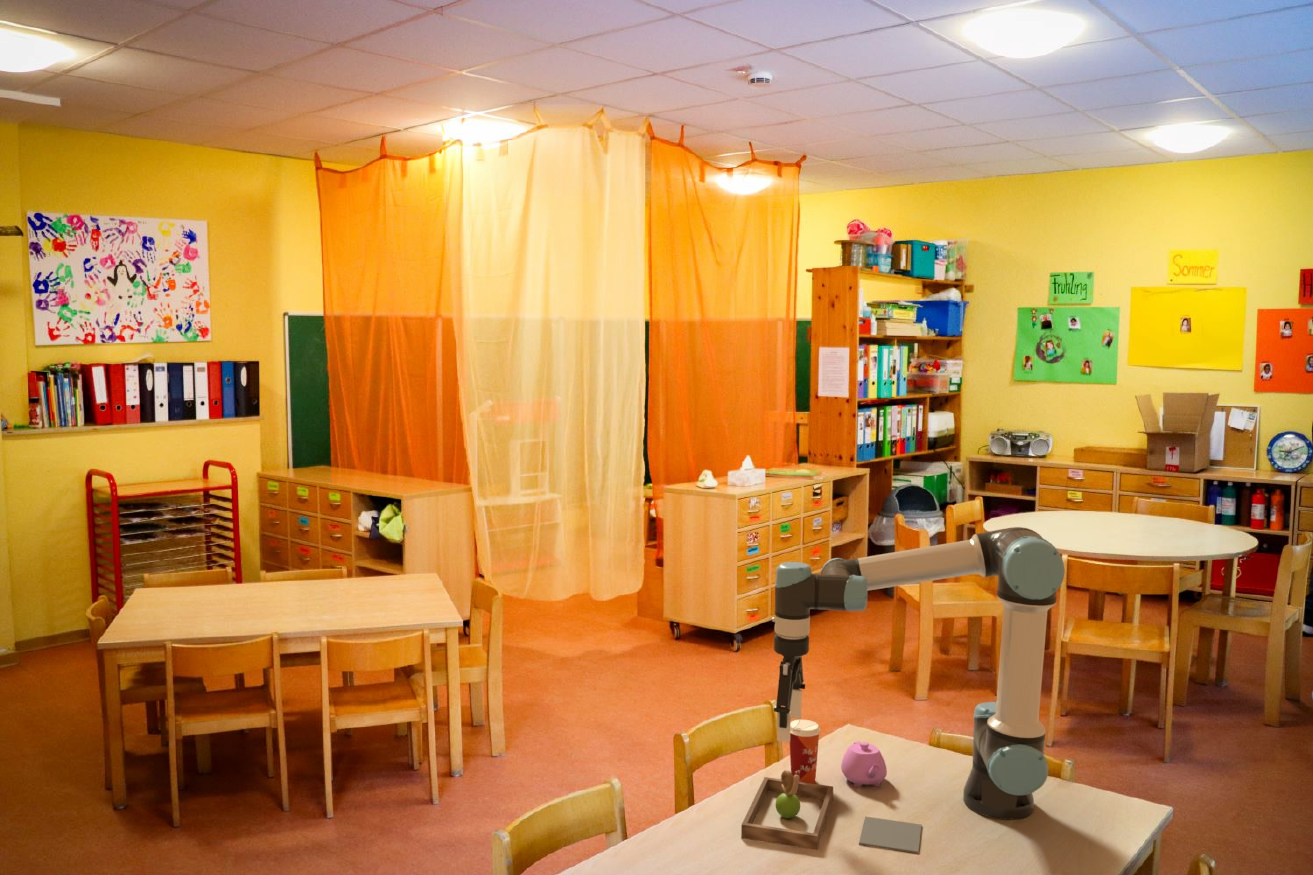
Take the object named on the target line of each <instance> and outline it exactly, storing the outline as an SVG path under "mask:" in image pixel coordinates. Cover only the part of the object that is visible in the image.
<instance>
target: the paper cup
mask: <svg viewBox="0 0 1313 875" xmlns="http://www.w3.org/2000/svg"><path fill="white" fill-rule="evenodd" d="M820 733H821V729H820V726H819V724H818V723H817V722H815V721H814V720H813V721H812V720H809V719H795V720H791V727H790V742H789V755H790V756H789V759H790V761H789V762H790V772H791V773H792V775H793V777H794V775H796V773H795V771H798V770H800V773H797V775H798V776H799V777H800V779H799V782H805V783H812V784H816V775H817V765H818V764H817V763H818V751H819V738H820Z"/></svg>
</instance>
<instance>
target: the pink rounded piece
mask: <svg viewBox="0 0 1313 875" xmlns="http://www.w3.org/2000/svg"><path fill="white" fill-rule="evenodd" d="M840 767H841V768H840V769H841V772H842V774H843V775H844V777H845V778H846V779H847V781H849V782H851V783H853V787H855V788H861V787H862V786H863V785H872V786H874V787H880V786H881V784H880V783H881V782H883V781H884V780H885V778H886V777H887V774H888V771H887V765H886V760H885V759H884V756H883V755H882V752H881V751H880V749H879V748H878V747H877V746H876V745H874V744H872V743H869V742H867V741H861V742H860V741H859V740H858V741H854V742H853V744H851V745H849V746H848V748H847V749H846V751H845V753H844V755H843V757H842V759H841V765H840Z"/></svg>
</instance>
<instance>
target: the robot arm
mask: <svg viewBox="0 0 1313 875" xmlns="http://www.w3.org/2000/svg"><path fill="white" fill-rule="evenodd" d="M1065 570H1066V569H1065V563H1064V560H1063V558H1062V556H1061V554H1060V552H1059V550H1058V549H1057V548H1056V547H1055V545H1054V544H1052V543H1051V542H1050V541H1049V540H1047V539H1045V538H1043V537H1042V536H1041V534H1039V533H1038V532H1037V531H1034V530H1032V529H1030V528H1027V527H1021V526H1015V527H1014V526H1013V527H1007V528H1002V529H1001V528H1000V529H996V530H991V531H986V532H981V533H980V532H979V533H975V534H973V535H972V536H971V538H970V539H966V540H960V541H954V542H949V543H942V544H936V545H931V546H923V547H918V548H912V549H906V550H900V551H894V552H888V553H887V552H886V553H882V554H875V555H870V556H865V557H864V556H863V557H858V558H851V559H844V558H840V557H835V558H830V559H828V561H826V562H825V563H824V564H823V566H822V569H821V571H820V574H818V573H813V572H812V567H811V565H810V564H808V563H805V562H799V561H787V562H782V563H780V564H778V566H777V567H776V569H775V585H774V617H772V618H771V622H773V623H774V633H775V634H774V636H773V650H774V652H775V653H776V654H777V655H781V656H782V657H783V658H782V660H781V661H780V664H779V666H778V667H779V676H778V686H777V697H776V704H775V706H776V707H774V708H773V713H774V712H775V713H777V714H776V715H777V722H776V723H777V725H776V741H777V742H784V743H790V727H791V722H792V720H791V719H795V720H802V693H803V690H806V684H805V683H804V681H805V680H804V671H803V669H804V668H803V658H802V657H803V656H805V655H807V654H809V651H810V650H809V649H810V637H809V634H810V632H811V631H810V627H811V626H810V624H811V614H810V613H811V611H810V610H826V611H827V610H829V611H841V612H863V611H865V610H866V608H867V606H868V591H872V590H873V591H874V590H880V589H885V588H893V587H899V586H905V585H912V584H918V583H923V582H930V581H937V580H938V581H939V580H942V579H943V580H944V579H949V578H958V577H963V576H969V575H975V574H977V575H979V576H980V577H982V578H987V577H997V587H996V588H997V589H996V590H997V591H996V597H997V599H998V600H999V601H1000V602H1001V603H1002V605H1003V610H1002V613H1003V614H1002V626H1001V635H1000V636H1001V638H1000V651H999V652H1000V653H999V661H998V662H999V665H998V676H997V677H998V678H997V692H996V701H989V702H988V701H987V702H981V703H978V704H977V705H976V706H974V707H975V708H974V712H973V713H974V714H973V716H972V718H973V739H972V740H973V741H972V744H973V745H972V768H971V770H970V771H969V775H968V777H967V780H966V782H965V785H964V787H963V794H962V795H963V799H962V800H963V802H964V804H965V806H966V807H968V808H969V809H970V810H971V811H974V812H976V813H977V814H980V815H982V816H986V817H989V818H993V819H994V818H995V819H1000V820H1019V819H1024V818H1027V817H1029V816H1031V815H1032V813H1034V808H1035V807H1034V806H1035V801H1034V796H1033V793H1035V792H1036V791H1037V790H1039V789H1040V788H1042V787H1043V786H1044V784H1045V783H1046V781H1047V780H1048V775H1049V766H1048V761H1047V758H1046V756H1045V741H1046V728H1045V726H1044V725H1043V724H1042V723H1041V721H1040V720H1039V719H1040V718H1039V717H1040V709H1041V708H1040V707H1041V697H1042V696H1041V694H1042V682H1043V669H1044V659H1045V658H1044V657H1045V648H1046V647H1045V645H1046V631H1047V620H1048V611H1049V610H1051V608H1053V607H1054V606H1056V605H1057V596H1058V590H1059V589H1060V587H1061V586H1062V584H1063V582H1064V579H1065V574H1066V573H1065Z"/></svg>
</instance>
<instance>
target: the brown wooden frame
mask: <svg viewBox="0 0 1313 875" xmlns="http://www.w3.org/2000/svg"><path fill="white" fill-rule="evenodd" d="M781 785H782V780H781V778H774V777H768V776H764V778H763V780H762V781H761V784H760V785H759V788H758V790H757V792H756V794H755V796H754V798H753V800H752V802H751V804H750V807H749V808H748V810H747V812H746V815H745V817H744V819H743V821H742V823H741V831H740V832H741V833H740V834H741V839H745V840H750V841H757V842H762V843H763V842H764V843H770V844H777V845H783V846H789V847H795V848H800V849H801V848H803V849H807V850H808V849H809V850H815V851H818V849H819V845H820V842H821V839H822V836H823V832H824V829H825V826H826V823H827V820H828V816H829V813H830V810H831V806H832V803H833V801H834V785H833V786H832V785H825V784H818V783H815V784H812V783H805V782H799V784H798V789H797V792H796V794H795V795H796V796H797V797H803V798H807V799H808V798H810V799H816V800H817V799H818V800H823V803H822V805H821V809H820V811H819V815H818V818H817V821H816V824H815V826H814V829H813V833H812V832H808V831H801V830H793V829H789V828H781V827H776V826H768V825H761V824H755V823H754V822H755V821H756V818H757V817H758V814H759V811H760V809H761V807H762V806H763V803H764V801H765V799H766V797H767V794H768V793H776V794H779V795H780V794H782V793H784V791H783V790H782V787H781Z"/></svg>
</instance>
